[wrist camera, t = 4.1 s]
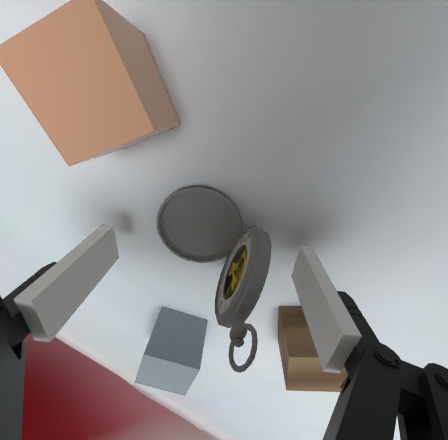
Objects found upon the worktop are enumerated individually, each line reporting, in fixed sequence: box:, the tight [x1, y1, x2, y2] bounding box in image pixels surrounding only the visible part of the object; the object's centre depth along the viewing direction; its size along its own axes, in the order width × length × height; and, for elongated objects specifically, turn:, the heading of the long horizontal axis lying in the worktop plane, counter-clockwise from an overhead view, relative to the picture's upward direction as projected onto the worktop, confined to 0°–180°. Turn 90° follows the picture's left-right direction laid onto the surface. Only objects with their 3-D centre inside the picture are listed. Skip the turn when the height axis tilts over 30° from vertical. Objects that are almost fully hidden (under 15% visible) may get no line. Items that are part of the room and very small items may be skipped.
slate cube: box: [135, 306, 207, 395], centre depth 21 cm, size 5×5×5 cm
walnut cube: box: [278, 306, 348, 392], centre depth 20 cm, size 5×5×5 cm
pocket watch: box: [157, 186, 271, 372], centre depth 13 cm, size 8×8×10 cm
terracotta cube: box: [0, 0, 181, 166], centre depth 11 cm, size 5×5×5 cm
